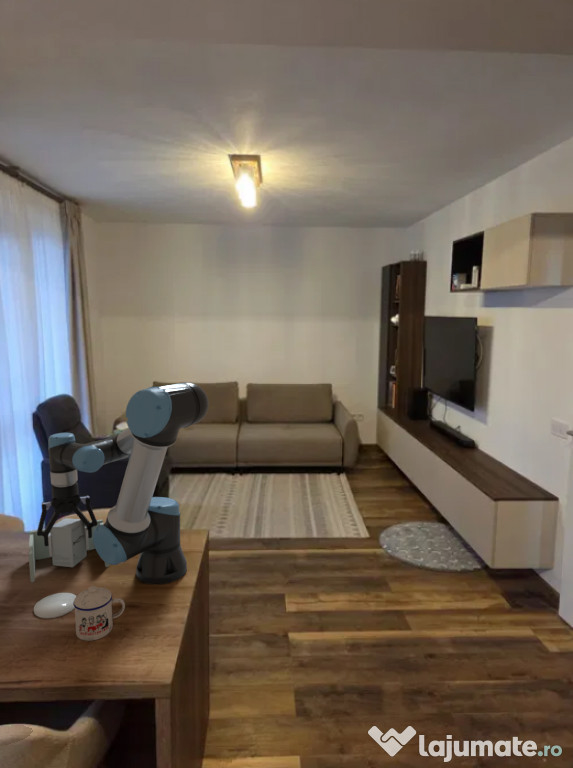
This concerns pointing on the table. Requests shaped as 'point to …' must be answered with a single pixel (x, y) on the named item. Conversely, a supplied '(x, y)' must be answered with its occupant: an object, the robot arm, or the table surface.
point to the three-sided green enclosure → (41, 551)
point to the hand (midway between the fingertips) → (69, 551)
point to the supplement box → (68, 542)
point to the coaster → (55, 605)
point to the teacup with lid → (95, 613)
